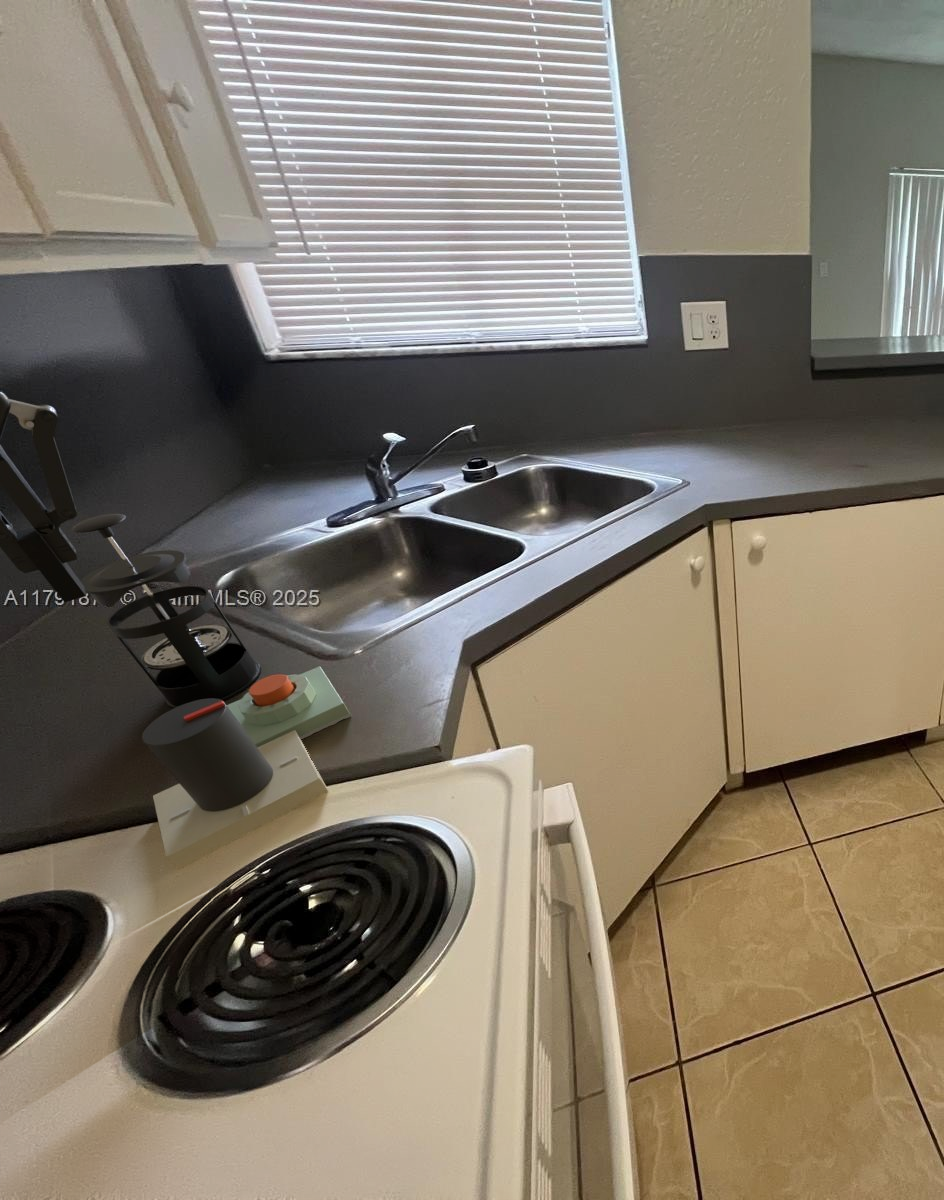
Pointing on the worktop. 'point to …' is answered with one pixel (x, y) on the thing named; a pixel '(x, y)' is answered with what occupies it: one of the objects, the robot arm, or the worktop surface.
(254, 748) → the oven knob
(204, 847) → the panel
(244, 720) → the button box
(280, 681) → the button
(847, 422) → the worktop surface
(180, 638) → the french press
